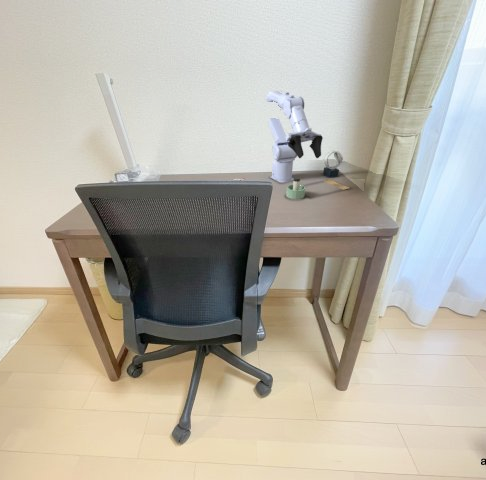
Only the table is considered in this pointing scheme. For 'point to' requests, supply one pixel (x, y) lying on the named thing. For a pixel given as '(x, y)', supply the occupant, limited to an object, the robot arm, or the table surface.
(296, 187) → the marker
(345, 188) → the cork mat
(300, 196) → the pen pot
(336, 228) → the table surface
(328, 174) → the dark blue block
